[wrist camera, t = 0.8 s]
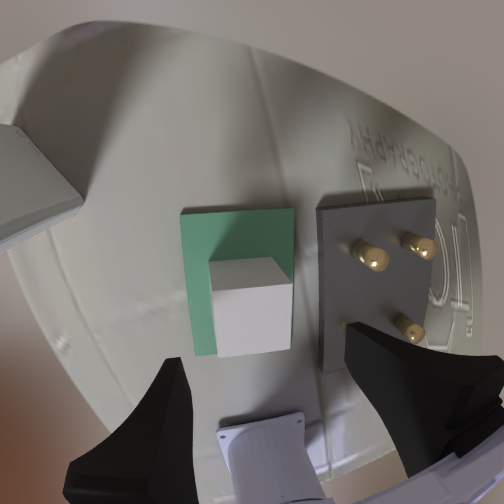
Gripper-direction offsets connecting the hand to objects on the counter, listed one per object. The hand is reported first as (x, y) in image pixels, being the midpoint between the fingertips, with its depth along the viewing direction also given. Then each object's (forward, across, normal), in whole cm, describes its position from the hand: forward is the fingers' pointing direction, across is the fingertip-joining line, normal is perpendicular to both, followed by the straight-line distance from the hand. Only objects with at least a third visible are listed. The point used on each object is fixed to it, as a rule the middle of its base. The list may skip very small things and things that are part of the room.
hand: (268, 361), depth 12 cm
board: (+9, 0, 0) cm, 9 cm away
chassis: (+8, -10, +2) cm, 14 cm away
